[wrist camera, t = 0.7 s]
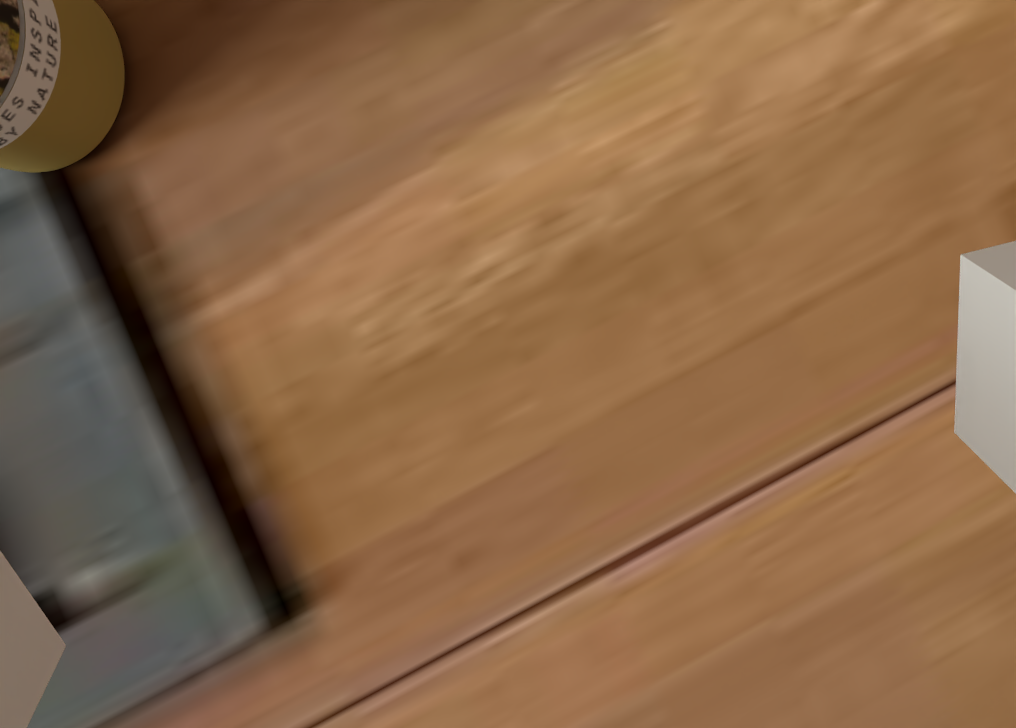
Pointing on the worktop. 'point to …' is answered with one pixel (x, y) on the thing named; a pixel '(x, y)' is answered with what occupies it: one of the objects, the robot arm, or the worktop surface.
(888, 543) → the worktop surface
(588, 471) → the worktop surface
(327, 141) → the worktop surface
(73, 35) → the paper tube
